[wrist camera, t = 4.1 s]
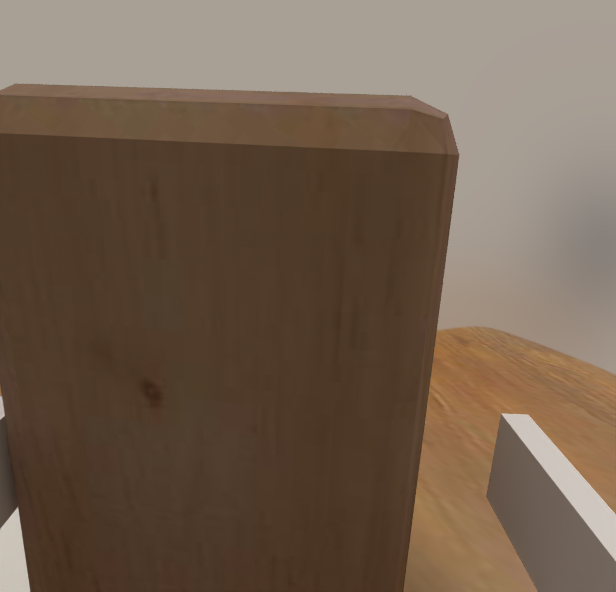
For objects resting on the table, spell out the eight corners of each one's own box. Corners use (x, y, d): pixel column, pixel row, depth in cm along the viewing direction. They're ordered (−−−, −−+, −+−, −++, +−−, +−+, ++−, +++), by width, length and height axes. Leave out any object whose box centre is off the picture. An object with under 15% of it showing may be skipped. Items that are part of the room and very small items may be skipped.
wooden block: (42, 789, 15) (-72, 74, 9) (177, 541, 24) (161, 117, 19) (372, 869, 13) (476, 90, 8) (378, 574, 23) (426, 128, 17)
